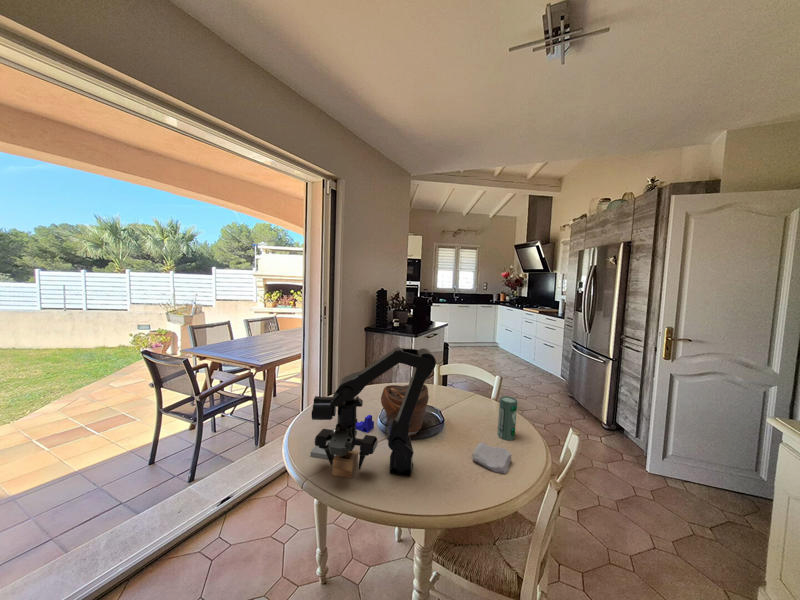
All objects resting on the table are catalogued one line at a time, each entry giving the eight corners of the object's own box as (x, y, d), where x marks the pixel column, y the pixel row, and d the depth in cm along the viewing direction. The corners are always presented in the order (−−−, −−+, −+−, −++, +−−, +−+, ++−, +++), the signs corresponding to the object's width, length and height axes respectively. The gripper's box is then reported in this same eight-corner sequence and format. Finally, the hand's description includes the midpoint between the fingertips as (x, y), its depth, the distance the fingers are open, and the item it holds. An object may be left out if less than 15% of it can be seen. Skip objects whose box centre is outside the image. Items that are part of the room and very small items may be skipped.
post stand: (356, 442, 110) (357, 423, 110) (344, 461, 99) (344, 441, 98) (326, 437, 113) (326, 419, 112) (310, 456, 101) (310, 436, 100)
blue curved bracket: (373, 428, 121) (374, 414, 121) (367, 433, 117) (368, 418, 117) (349, 420, 126) (349, 407, 126) (342, 425, 122) (343, 411, 122)
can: (516, 440, 116) (519, 402, 114) (500, 440, 116) (503, 402, 114) (510, 432, 122) (513, 396, 120) (495, 431, 122) (498, 395, 120)
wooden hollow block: (357, 466, 97) (358, 451, 96) (351, 478, 91) (351, 462, 91) (340, 463, 98) (340, 448, 98) (332, 475, 92) (332, 459, 92)
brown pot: (370, 427, 121) (372, 384, 120) (406, 413, 135) (408, 374, 133) (399, 448, 108) (402, 399, 106) (436, 430, 121) (439, 387, 120)
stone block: (506, 481, 95) (512, 459, 103) (506, 469, 94) (512, 447, 102) (469, 469, 101) (478, 449, 109) (468, 457, 100) (477, 438, 108)
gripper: (306, 427, 87) (305, 478, 88) (368, 436, 83) (366, 489, 85) (323, 410, 98) (322, 456, 99) (378, 418, 94) (377, 465, 96)
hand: (345, 466), depth 94 cm, fingers open, 9 cm apart
